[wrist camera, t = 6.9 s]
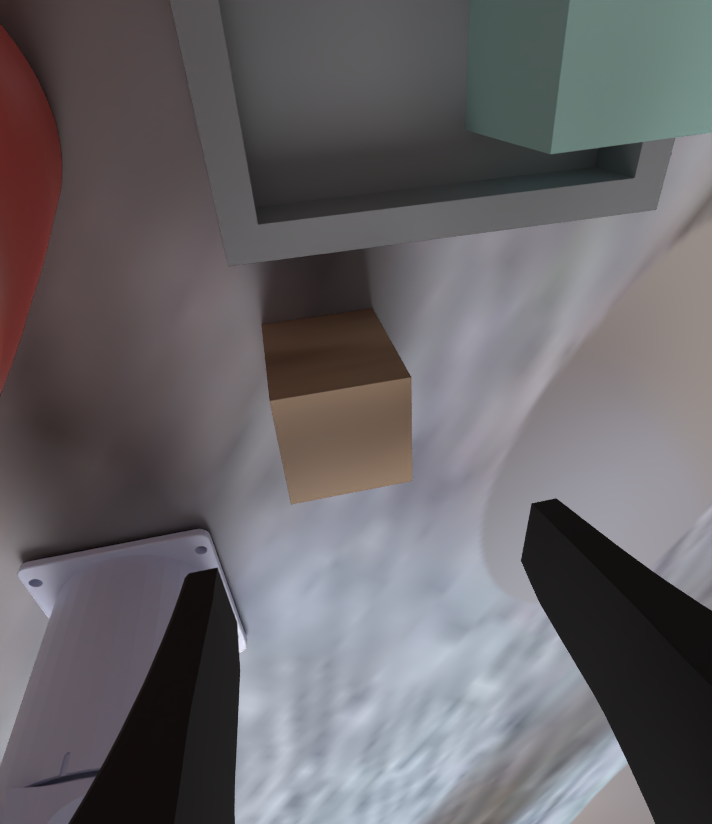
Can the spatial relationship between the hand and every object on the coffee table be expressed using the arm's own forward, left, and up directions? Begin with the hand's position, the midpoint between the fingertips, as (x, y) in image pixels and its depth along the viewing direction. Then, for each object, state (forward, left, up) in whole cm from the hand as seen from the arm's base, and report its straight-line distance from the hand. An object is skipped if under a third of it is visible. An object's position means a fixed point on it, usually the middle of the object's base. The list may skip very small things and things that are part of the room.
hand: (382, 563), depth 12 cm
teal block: (+10, -7, -9) cm, 15 cm away
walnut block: (0, 0, -10) cm, 10 cm away
